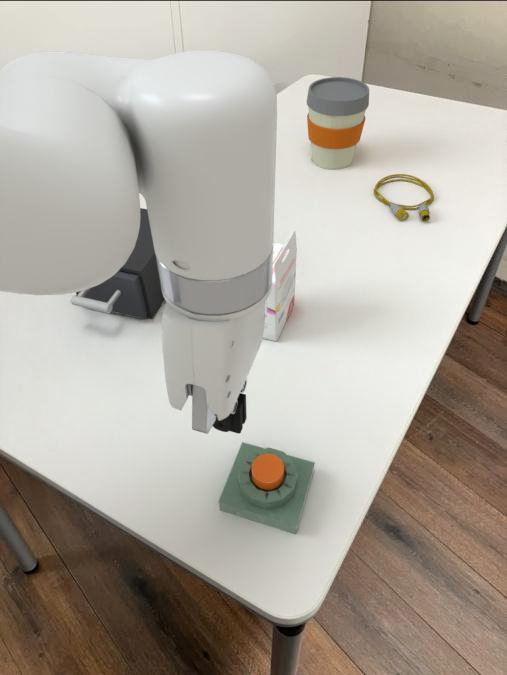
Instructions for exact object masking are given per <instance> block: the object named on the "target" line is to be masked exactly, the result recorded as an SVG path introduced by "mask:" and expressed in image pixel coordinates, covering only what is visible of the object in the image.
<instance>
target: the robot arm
mask: <svg viewBox="0 0 507 675" xmlns="http://www.w3.org/2000/svg"><path fill="white" fill-rule="evenodd" d="M277 130H278V97H277V90H276V86H275V83H274V80H273V78H272V77H271V75H270V74H269V72H268V71H267V69H266V68H265V67H263V65H261V64H260V63H258V62H257V61H256V60H254V59H252V58H250V57H247V56H244V55H242V54H238V53H233V52H230V51H223V50H214V49H213V50H209V49H208V50H207V49H205V50H204V49H198V50H187V51H179V52H176V53H172V54H167V55H165V56H161V57H159V58H156V59H154V58H153V59H152V58H135V57H133V58H132V57H121V56H112V55H111V56H110V55H101V54H93V53H82V52H71V51H53V50H52V51H50V50H49V51H48V50H47V51H38V52H31V53H27V54H24V55H22V56H19V57H16V58H15V59H13V60H11V61H10V62H8V63H7V64H6V65H5V66H3V67H2V68H1V69H0V292H1V293H2V292H3V293H10V294H17V295H31V296H61V295H67V294H73V293H74V294H75V293H76V292H79V291H84V290H87V289H89V288H92V287H95V286H97V285H99V284H101V283H103V282H105V281H106V280H108V279H109V278H111V277H112V276H113V275H115V274H116V273H117V272H118V271H119V270H120V268H121V267H122V266H123V265H124V264H125V263H126V262H127V260H128V258H129V256H130V255H131V253H132V251H133V249H134V247H135V244H136V241H137V237H138V234H139V228H140V208H141V200H140V195H142V197H143V199H144V202H145V205H146V209H147V212H148V217H149V223H150V228H151V234H152V239H153V245H154V250H155V255H156V261H157V266H158V272H159V277H160V283H161V289H162V293H163V297H164V298H165V300H164V301H165V305H164V307H163V309H162V322H161V323H162V324H161V344H162V346H161V347H162V360H163V362H162V363H163V371H164V372H163V373H164V379H165V386H166V393H167V397H168V398H167V399H168V402H169V405H170V407H171V408H172V409H173V408H174V409H175V410H178V411H182V410H183V408H184V406H185V405H186V403H187V400H188V399H189V396H190V397H191V405H192V406H191V429H192V430H193V431H195V432H199V433H203V434H206V435H208V434H209V432H210V431H211V429H212V428H214V429H215V430H217V431H220V432H223V433H229V432H231V433H235V434H241V433H242V430H243V428H244V427H243V426H244V425H245V423H246V421H247V394H245V391H246V388H247V383H248V376H249V374H250V371H251V369H252V366H253V364H254V363H255V359H256V357H257V355H258V352H259V350H260V347H261V344H262V341H263V339H264V338H263V334H264V325H265V301H266V299H267V298H268V296H269V294H270V292H271V289H272V273H273V242H274V240H275V239H274V236H275V203H276V202H275V198H276V197H275V196H276V169H277V168H276V167H277V163H276V162H277V137H278V136H277V135H278V134H277V133H278V132H277Z"/></svg>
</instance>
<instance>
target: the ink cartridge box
mask: <svg viewBox="0 0 507 675" xmlns="http://www.w3.org/2000/svg"><path fill="white" fill-rule="evenodd" d="M297 252H298V247H297V233H296V231H295V230H293V231H292V233H291V234H290V236H289V239H288V240H287V242H286V243H285V244H283V243H278V242H274V241H273V273H272V289H271V292H270V294H269V296H268V298H267V299H266V301H265V325H264V334H263V338H262V339H265V340H268V341H272V342H277V341H278V339H279V338H280V335H281V333H282V332H283V329H284V327H285V325H286V324H287V322H288V320H289V317H290V315H291V313H292V311H293V308H294V307H295V295H296V294H295V293H296V277H297V276H296V274H297V273H296V272H297V257H298V256H297V255H298V253H297Z"/></svg>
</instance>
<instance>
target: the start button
mask: <svg viewBox="0 0 507 675" xmlns="http://www.w3.org/2000/svg"><path fill="white" fill-rule="evenodd" d="M251 471H252V480H253V482H254V484H255V485H256V486H257V487H259V488H260V489H263V490H273V489H276V488H277V487H279V486H280V485H281V483H282V482H283V479H284V464H283V462H282V460H281V459H280V458H279V457H277V456H276V455H273V454H262V455H260V456H258V457H257V458H256V459H255V460H254V461H253V463H252V467H251Z"/></svg>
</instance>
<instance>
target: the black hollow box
mask: <svg viewBox="0 0 507 675" xmlns="http://www.w3.org/2000/svg"><path fill="white" fill-rule="evenodd" d="M119 271H123V272H128V273H133V274H137V275H138V276H139V280H140V284H141V288H142V292H143V296H144V300H145V305H146V309H147V313H148V315H147V316H146V318H147V319H151V320H152V319H154V317H155V316H156V314H157V313H158V311H159V310H160V308H161V307H162V306H163V304H164V302H165V301H166V300H165V298H164V297H163V293H162V289H161V283H160V277H159V272H158V266H157V261H156V255H155V250H154V245H153V239H152V234H151V228H150V223H149V217H148V212H147V208H142V207H140V228H139V234H138V237H137V241H136V244H135V247H134V249H133V251H132V253H131V255H130V256H129V258H128V260H127V262H126V263H125V264H124V265H123V266H122V267H121V268H120V270H119Z"/></svg>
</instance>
